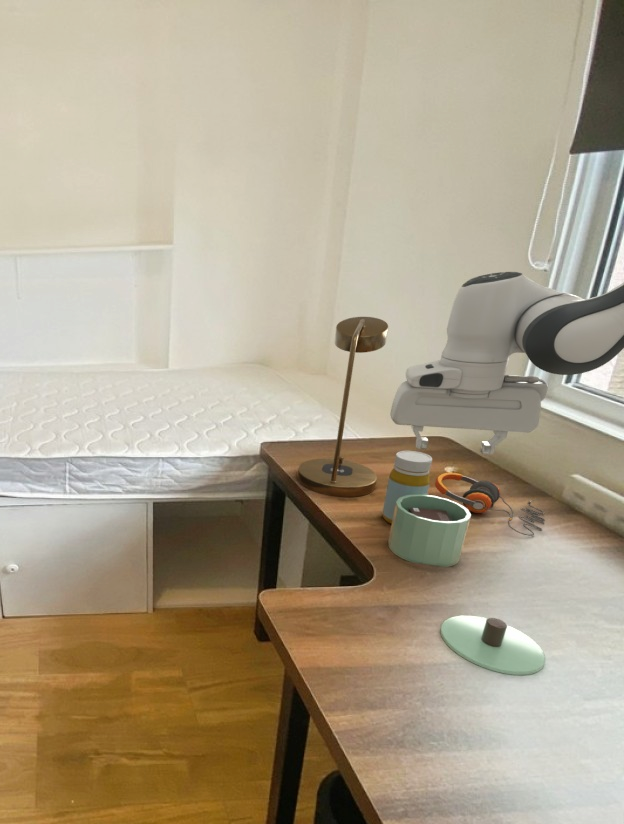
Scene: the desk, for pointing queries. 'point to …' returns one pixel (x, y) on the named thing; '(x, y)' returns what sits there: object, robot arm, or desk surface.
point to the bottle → (406, 479)
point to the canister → (428, 531)
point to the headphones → (483, 498)
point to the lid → (493, 645)
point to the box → (430, 514)
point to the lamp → (337, 472)
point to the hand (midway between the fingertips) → (452, 450)
